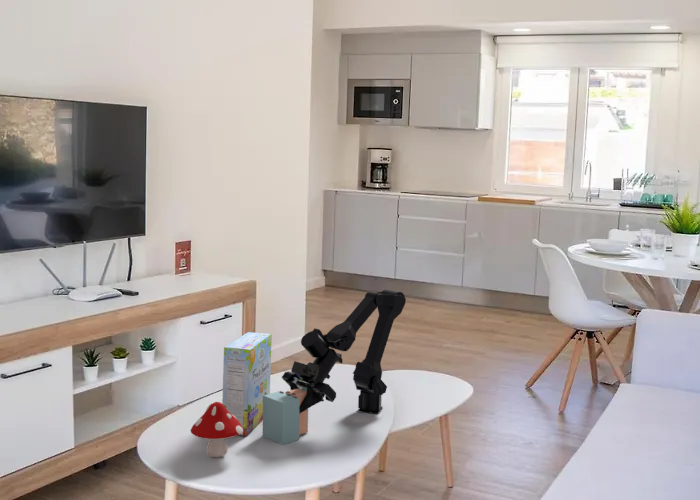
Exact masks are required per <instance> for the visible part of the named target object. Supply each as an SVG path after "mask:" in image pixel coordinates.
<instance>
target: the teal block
mask: <svg viewBox="0 0 700 500" xmlns="http://www.w3.org/2000/svg"><path fill="white" fill-rule="evenodd" d="M299 405H300V399H299V398H297V397H296V396H291V395H290V394H285V392H284V391H282V390H280V391H276V392H272V393H271V392H270V394H267V395H263V420H262V437H265V438H266V439H269V440H271V441H273V442H276V443H278V444H281V445H282V446H283V445H286V444H290V443H292V441H293V442H296V441H299V440H300V435H299ZM298 439H299V440H298ZM295 440H296V441H295Z"/></svg>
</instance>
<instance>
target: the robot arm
mask: <svg viewBox="0 0 700 500" xmlns="http://www.w3.org/2000/svg"><path fill="white" fill-rule="evenodd" d="M406 301H407V298H406V297H405V294H404V292H403V291H396V290H392V289H384V290H381V291H368V292H366V293H365V295H364V298H363V299H362V300H361V301H360V302H359V304H358V305H357V306H356V307H355V309H353V310H352V312H351V313H350V314H349V315H348V317H347V318H346V319H345V320H344V321H343V322H341V323H338V324H336V325H334V327H332V328H331V329H330V330H329V331H328V332H327V333H326V334H323V332H322V331H321V330H320V329H319V328H314V329H313V330H311V331H309V332H307V333H306V334H305V335H302V338H300V339H301V340H300V345H301V347H303V348H304V349H305V351H307V352H308V353H309V355H310V356H311V357H312V358H315V359H314V360H313V361H312V362H310V361H309V362H308V363H307V364H305V363H302V362H299V361H296V360H294V361H293V364H292V367H291V370H290V371H288V370H287V371H285V372H284V373H283V374H282V376H281V378H282V380H283V381H284V382H285V383H286V384H287V385H288V386H289V389H290V390H289V391H291V390H295V389H301V390H302V388H303V387H304V388H307V395H306V396H305V398H304V400H303V401H302V403H301V405H300V407H299V413H302V412H303V411H305V410H306V409H308V410H309V409H310V408H312V407H313V406H315V405H317V404H319V403H321V402H324V401H325V400H326V401H328V402H331V403H333V402H335V400H336V398H337V392H336V391H335V390H334V389H333V387H332V386H330V384H328V383H326V382H325V380H326V379H327V380H329V379H330V378H331V375H330V373H331V371H332V369H333V368H334V366H335V364H336V363H339V364H343V363H344V362H343V356H342V353H340V352H348V351H349V350H350V349H351V347H352V345H353V344H354V343H355V341H356V337H357V333H358V331H359V330H360V329H361V327H362V326H363V325H364V324H365V323H366V321H367V320H369V318H370V316H371V315H373V313H374V312H375V311H376V309H377V312H378V317H377V320H376V323H375V326H374V330H373V333H372V335H371V339H370V342H369V345H368V348H367V352H366V355H365V358H364V359H363V360H362V361H357V362H356V363H355V368H354V371H353V372H352V374H353V377H352V380H353V382H354V385H355V388H356V389H355V390H357V391H360V392H359V394H358V396H357V397H358V402H357V404H358V406H357V407H358V412H359V413H367V414H373V415H374V414H375V415H378V414H380V412H381V411H382V409H383V405H382V395H384V394H386V392H387V388H388V386H387V385H386V383H385V382H384V381H383V380H382V378H383V377H382V376H383V371H382V364H381V362H382V358H383V357H384V356H383V355H384V353H385V348H386V347H387V343H388V339H389V336H390V333H391V330H392V326H393V325H394V322H395V320H396V318H397V317H399V316H400V315H401V314H402V312H403V309H404V308H405V305H406ZM336 350H338V351H340V352H339V353H338V352H337V351H336ZM292 372H296V373H298V374H299V376H300V377H301V378H302V380H301V379H300V378H299V377H298V376H297V375H296V374H295V373H292ZM324 398H325V400H324Z"/></svg>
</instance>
